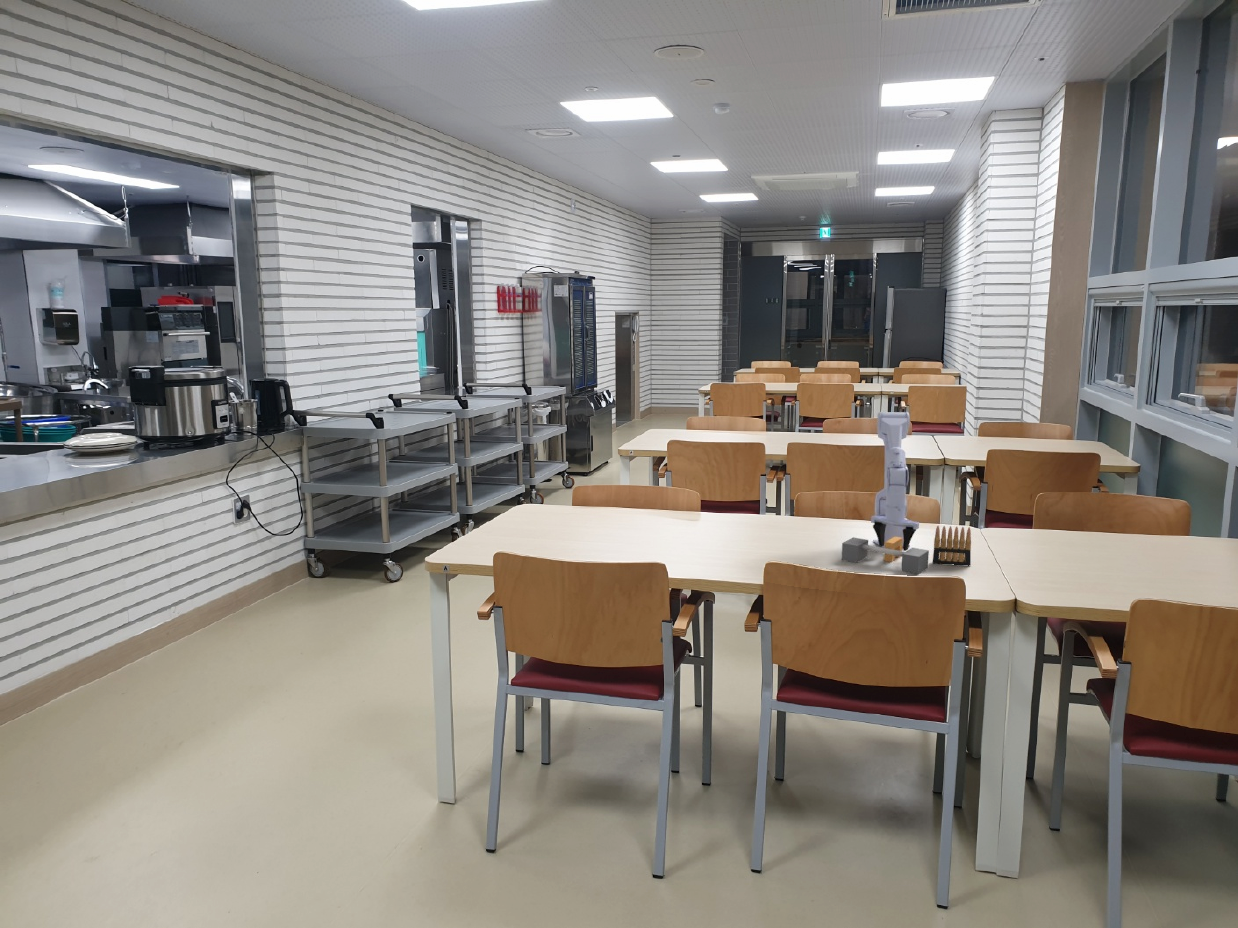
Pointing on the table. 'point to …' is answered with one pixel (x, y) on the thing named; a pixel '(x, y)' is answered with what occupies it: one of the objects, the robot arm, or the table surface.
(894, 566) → the table surface
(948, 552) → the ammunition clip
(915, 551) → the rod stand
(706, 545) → the table surface
